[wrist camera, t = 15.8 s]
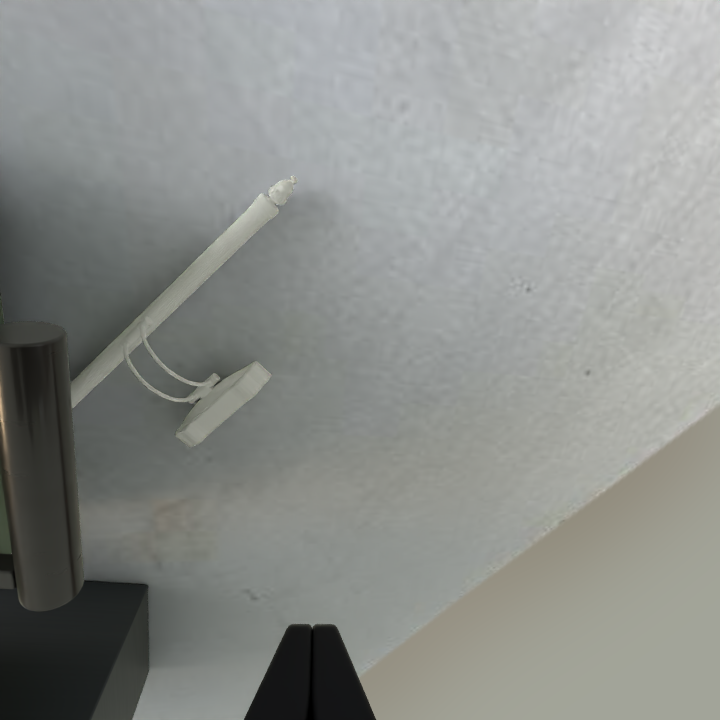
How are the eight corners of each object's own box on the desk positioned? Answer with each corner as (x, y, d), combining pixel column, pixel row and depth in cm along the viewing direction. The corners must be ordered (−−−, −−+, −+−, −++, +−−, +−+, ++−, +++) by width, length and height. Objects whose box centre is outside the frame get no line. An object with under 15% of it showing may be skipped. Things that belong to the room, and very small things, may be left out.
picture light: (288, 167, 14) (282, 167, 12) (380, 274, 15) (388, 289, 14) (9, 441, 17) (-32, 477, 15) (109, 510, 18) (83, 551, 16)
